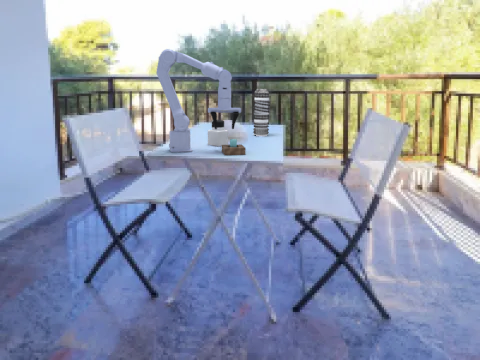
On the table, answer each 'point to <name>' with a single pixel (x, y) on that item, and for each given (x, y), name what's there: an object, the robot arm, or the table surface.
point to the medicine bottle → (218, 134)
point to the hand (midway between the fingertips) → (224, 128)
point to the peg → (233, 142)
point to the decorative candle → (261, 112)
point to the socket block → (233, 150)
